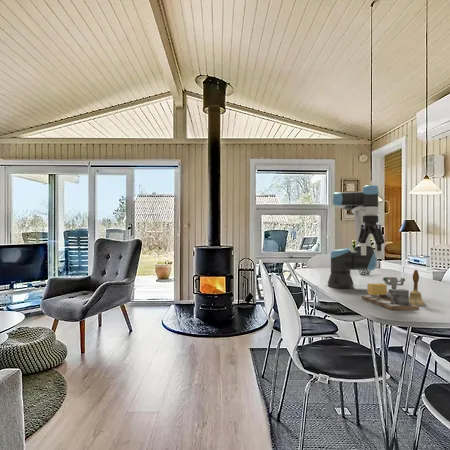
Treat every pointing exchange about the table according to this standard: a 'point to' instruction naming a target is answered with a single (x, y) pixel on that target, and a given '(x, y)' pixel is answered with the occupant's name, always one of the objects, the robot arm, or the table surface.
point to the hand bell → (416, 291)
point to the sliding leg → (377, 289)
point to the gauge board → (393, 300)
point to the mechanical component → (393, 282)
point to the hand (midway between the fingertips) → (370, 256)
